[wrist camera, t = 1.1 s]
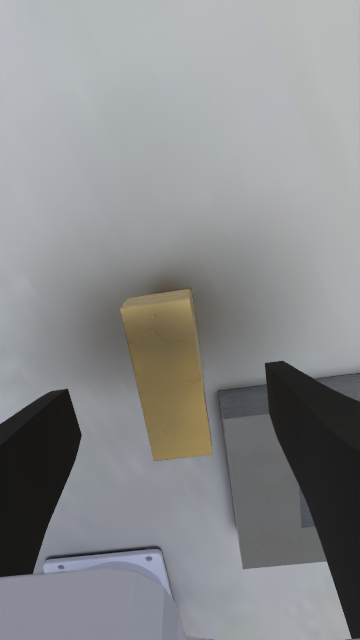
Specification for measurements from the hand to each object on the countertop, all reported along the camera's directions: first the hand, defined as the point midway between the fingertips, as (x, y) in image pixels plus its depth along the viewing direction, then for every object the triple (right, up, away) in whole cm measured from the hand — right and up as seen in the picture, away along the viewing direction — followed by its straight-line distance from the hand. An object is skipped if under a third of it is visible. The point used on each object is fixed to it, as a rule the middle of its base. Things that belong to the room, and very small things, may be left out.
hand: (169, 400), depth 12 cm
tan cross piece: (0, +3, +8) cm, 9 cm away
